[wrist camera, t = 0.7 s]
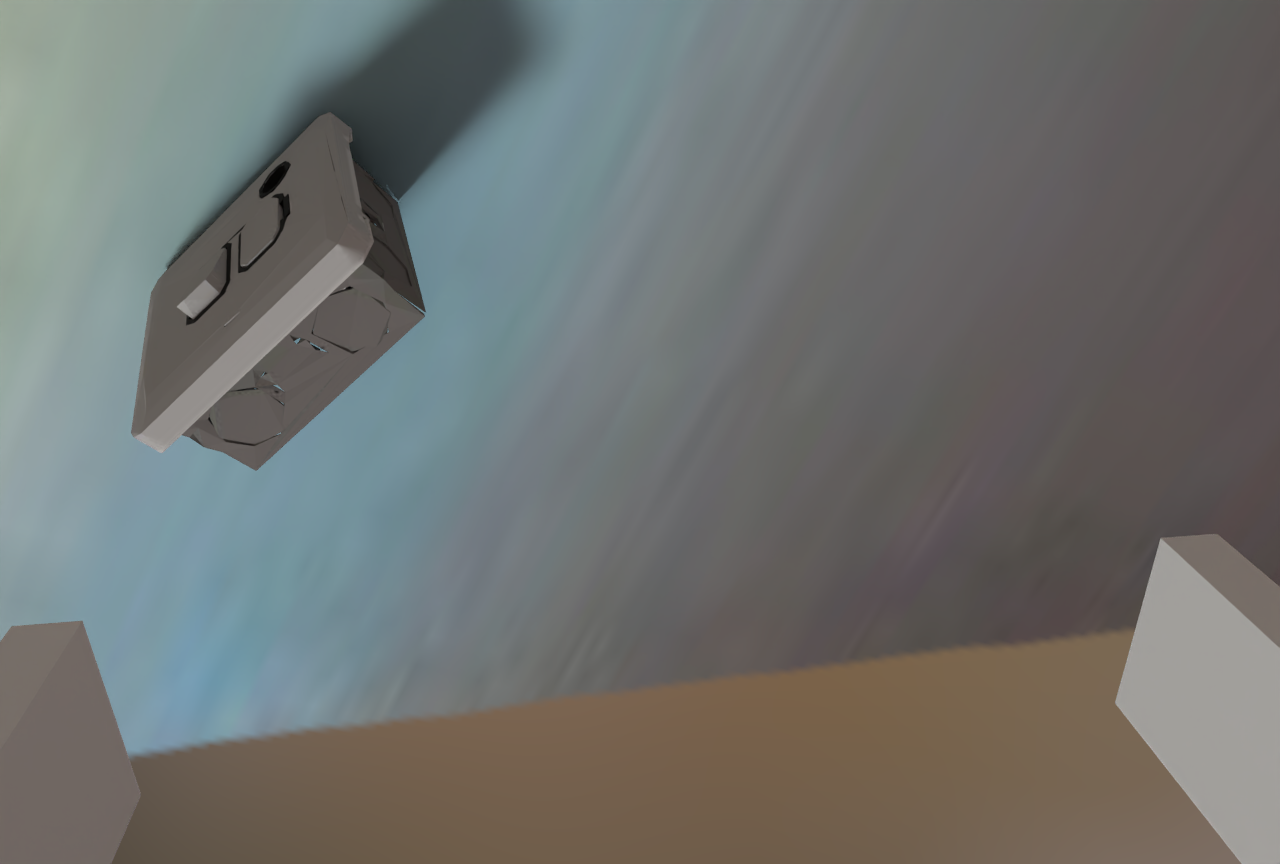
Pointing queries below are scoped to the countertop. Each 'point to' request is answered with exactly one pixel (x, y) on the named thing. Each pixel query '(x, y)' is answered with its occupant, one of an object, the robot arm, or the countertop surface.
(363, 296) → the electrical switch
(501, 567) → the countertop surface
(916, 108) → the countertop surface
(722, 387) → the countertop surface
